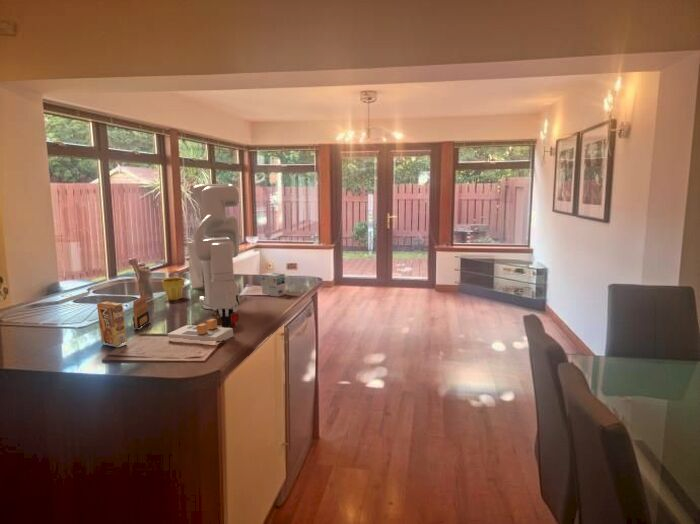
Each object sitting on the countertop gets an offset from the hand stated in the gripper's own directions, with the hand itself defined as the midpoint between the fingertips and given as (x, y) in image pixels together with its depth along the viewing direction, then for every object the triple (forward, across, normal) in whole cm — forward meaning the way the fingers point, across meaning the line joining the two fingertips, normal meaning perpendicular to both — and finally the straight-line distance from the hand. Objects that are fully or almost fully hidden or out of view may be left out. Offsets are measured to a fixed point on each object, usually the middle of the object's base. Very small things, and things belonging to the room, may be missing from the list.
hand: (226, 326), depth 174 cm
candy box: (+5, -36, -16) cm, 40 cm away
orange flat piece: (+5, -43, +6) cm, 44 cm away
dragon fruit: (+5, -8, +13) cm, 15 cm away
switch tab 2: (+1, -6, 0) cm, 6 cm away
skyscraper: (+5, -66, +76) cm, 101 cm away
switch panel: (+4, -9, -3) cm, 11 cm away
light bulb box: (+5, -15, +68) cm, 70 cm away
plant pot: (+5, -62, +51) cm, 81 cm away
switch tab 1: (+1, -6, -6) cm, 9 cm away
